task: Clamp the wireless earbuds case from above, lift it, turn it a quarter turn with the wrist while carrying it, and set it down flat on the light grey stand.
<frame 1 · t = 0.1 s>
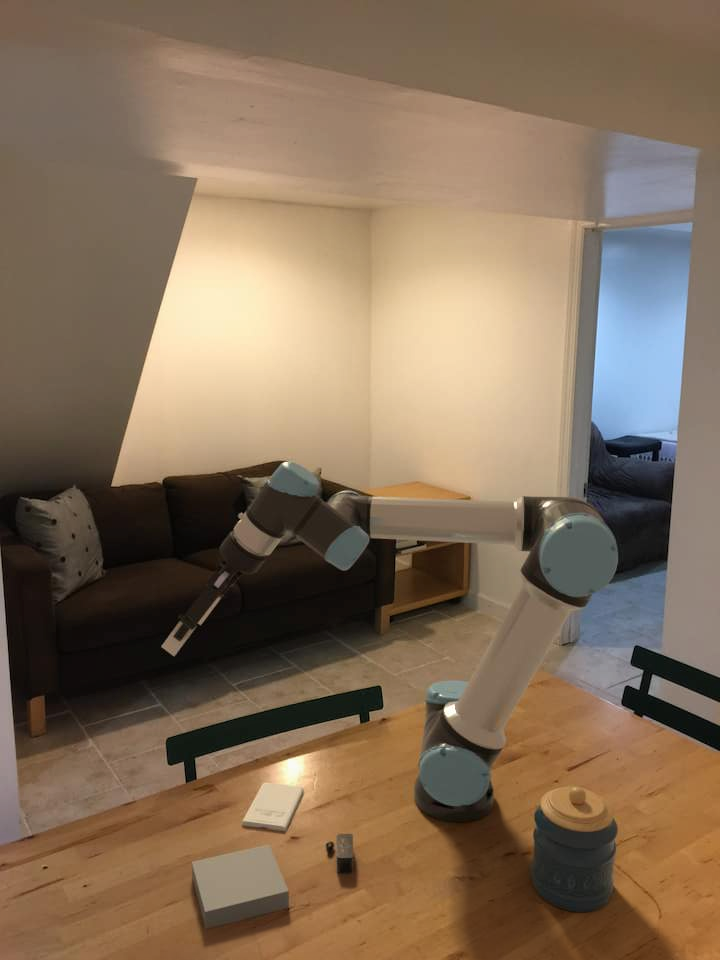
hand: (182, 634, 143), 36 cm above the table, tool tilted 35°, fingers open, 13 cm apart
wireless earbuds: (340, 860, 140), on the table
canister: (570, 886, 134), on the table
stand: (239, 892, 131), on the table
external hard drive: (273, 811, 154), on the table
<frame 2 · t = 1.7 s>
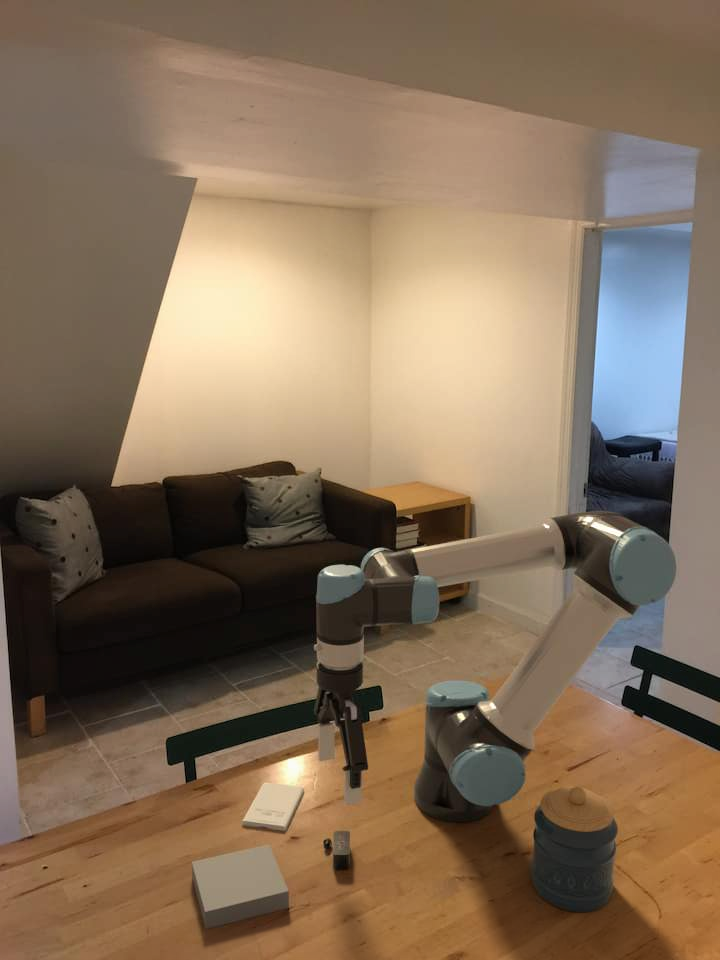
hand: (339, 780, 137), 15 cm above the table, tool pointing down, fingers open, 13 cm apart
nothing on the table moved.
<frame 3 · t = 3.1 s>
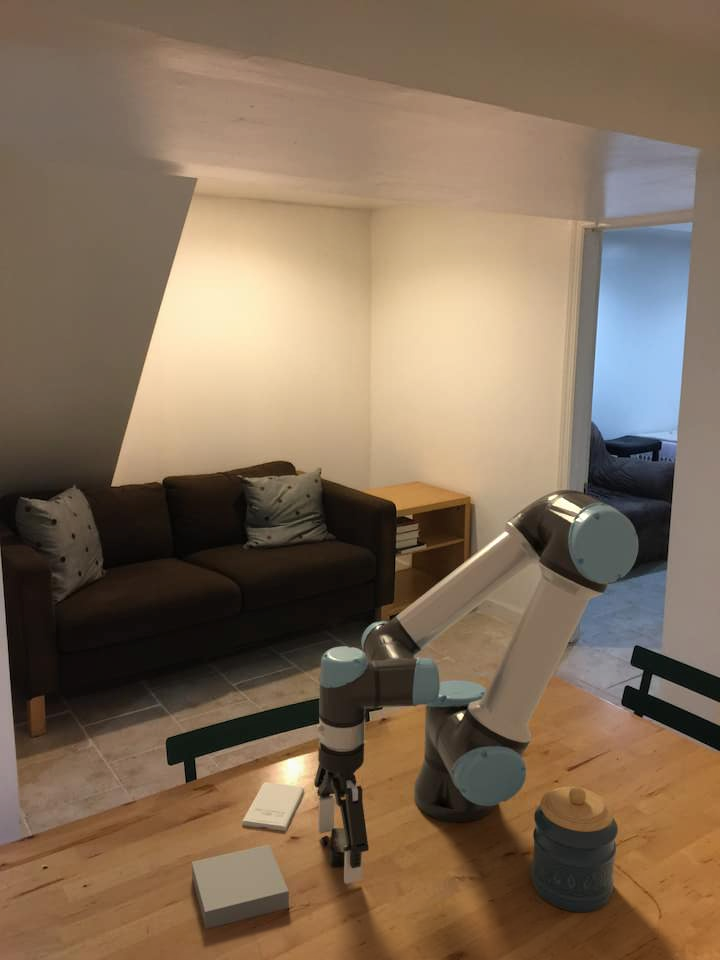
hand: (338, 855, 139), 1 cm above the table, tool pointing down, fingers open, 13 cm apart
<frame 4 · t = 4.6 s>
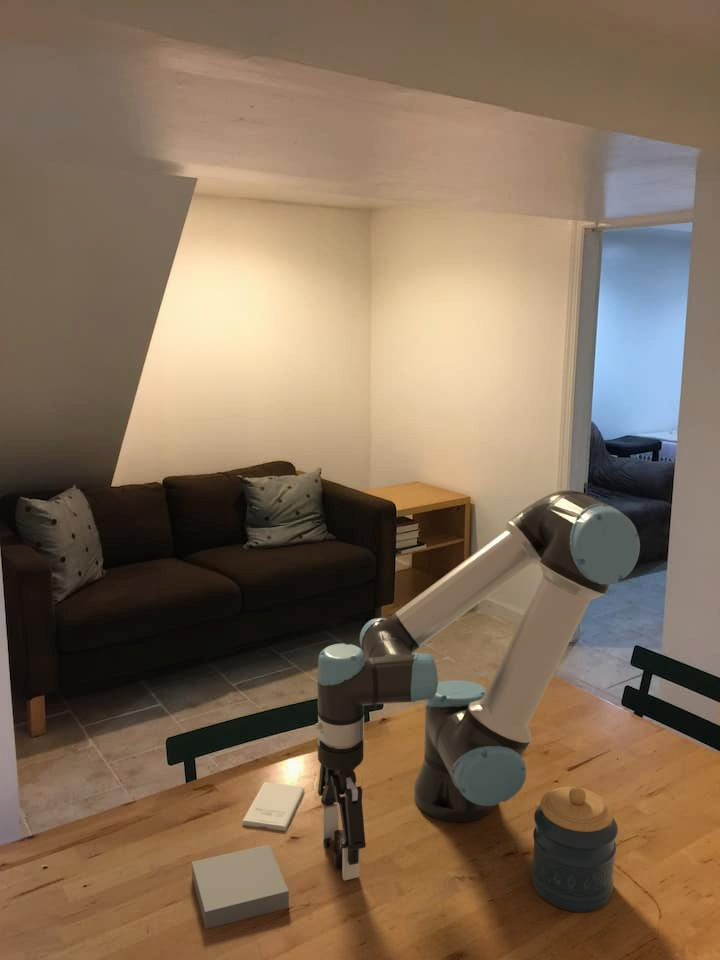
hand: (340, 857, 139), 0 cm above the table, tool pointing down, fingers open, 10 cm apart
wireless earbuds: (337, 856, 140), on the table, touching gripper
everything else where it was.
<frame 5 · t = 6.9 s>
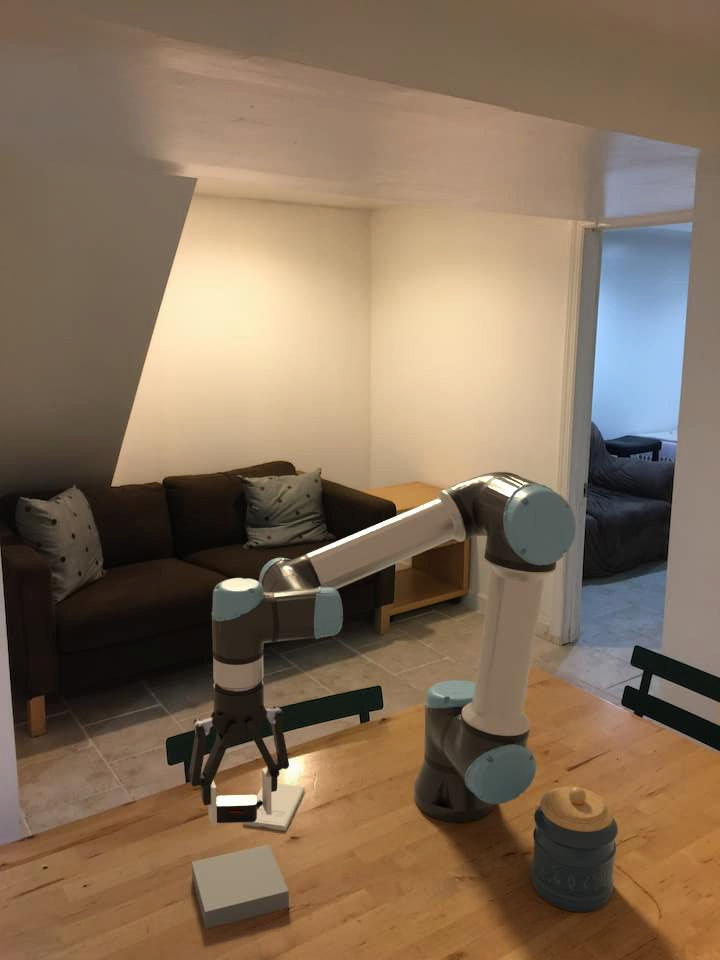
hand: (240, 814, 129), 14 cm above the table, tool pointing down, fingers closed on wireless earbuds, 8 cm apart
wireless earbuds: (241, 817, 129), point 13 cm above the table, touching gripper
everything else where it was.
when the fingers open (4 cm above the table, at t = 9.1 s): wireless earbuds stays where it is, resting on stand.
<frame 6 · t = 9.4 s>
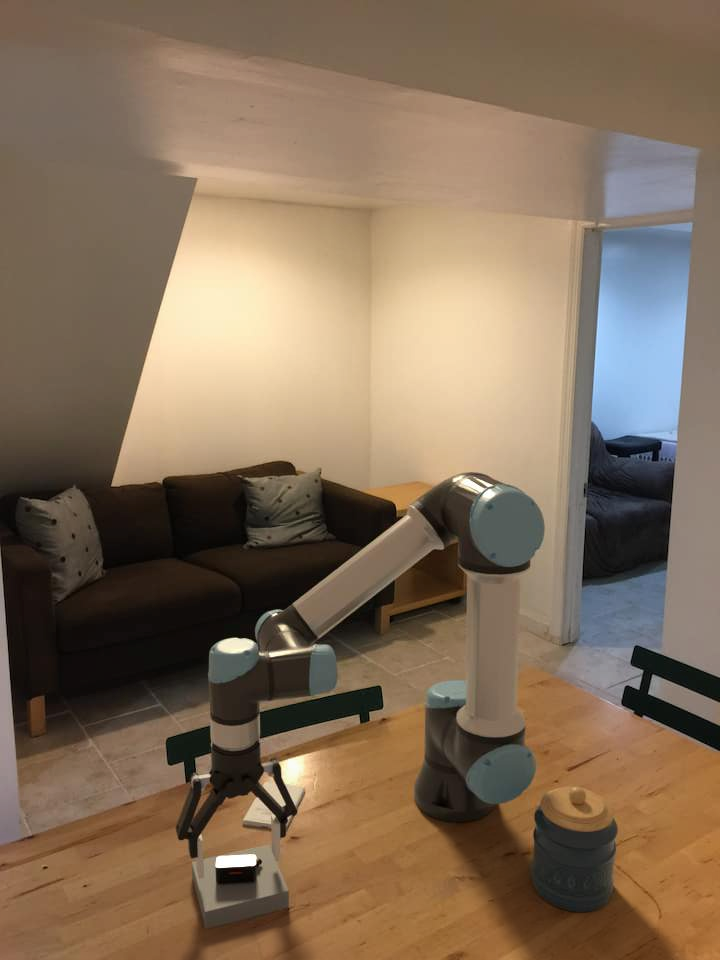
hand: (238, 863, 130), 5 cm above the table, tool pointing down, fingers open, 11 cm apart
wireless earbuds: (241, 876, 131), point 3 cm above the table, touching stand
everything else where it was.
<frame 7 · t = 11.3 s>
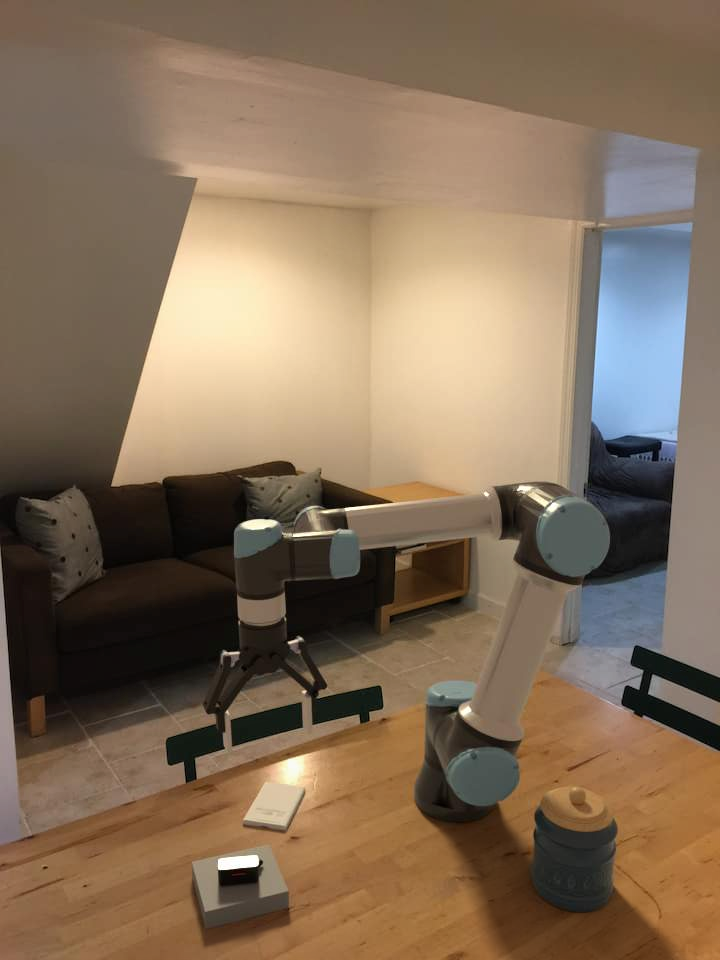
hand: (268, 739, 134), 22 cm above the table, tool pointing down, fingers open, 13 cm apart
nothing on the table moved.
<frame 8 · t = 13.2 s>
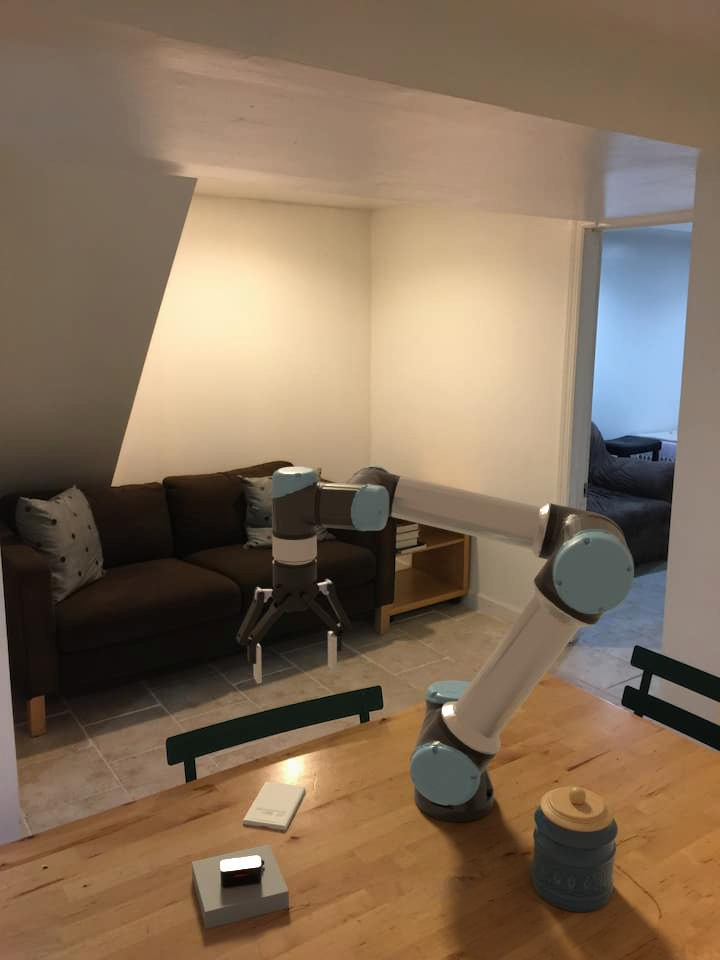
hand: (295, 674, 144), 29 cm above the table, tool pointing down, fingers open, 13 cm apart
nothing on the table moved.
at the end: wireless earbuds inside the target area on the stand (1.1 cm from its centre), point 2.8 cm above the stand's base; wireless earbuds tilted 0°; the gripper is holding nothing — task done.
